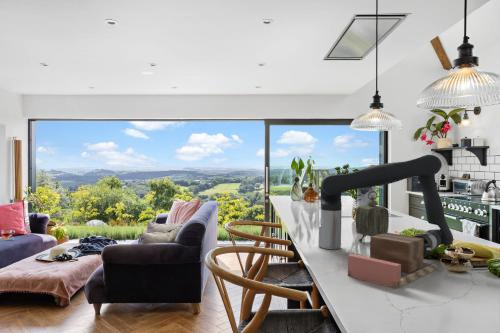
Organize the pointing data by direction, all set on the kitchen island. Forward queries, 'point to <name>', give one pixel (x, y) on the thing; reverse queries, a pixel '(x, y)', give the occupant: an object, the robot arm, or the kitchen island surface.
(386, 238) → the brown cardboard box
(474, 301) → the kitchen island surface
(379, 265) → the roller track
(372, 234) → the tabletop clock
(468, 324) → the kitchen island surface
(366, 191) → the juice carton
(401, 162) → the robot arm
